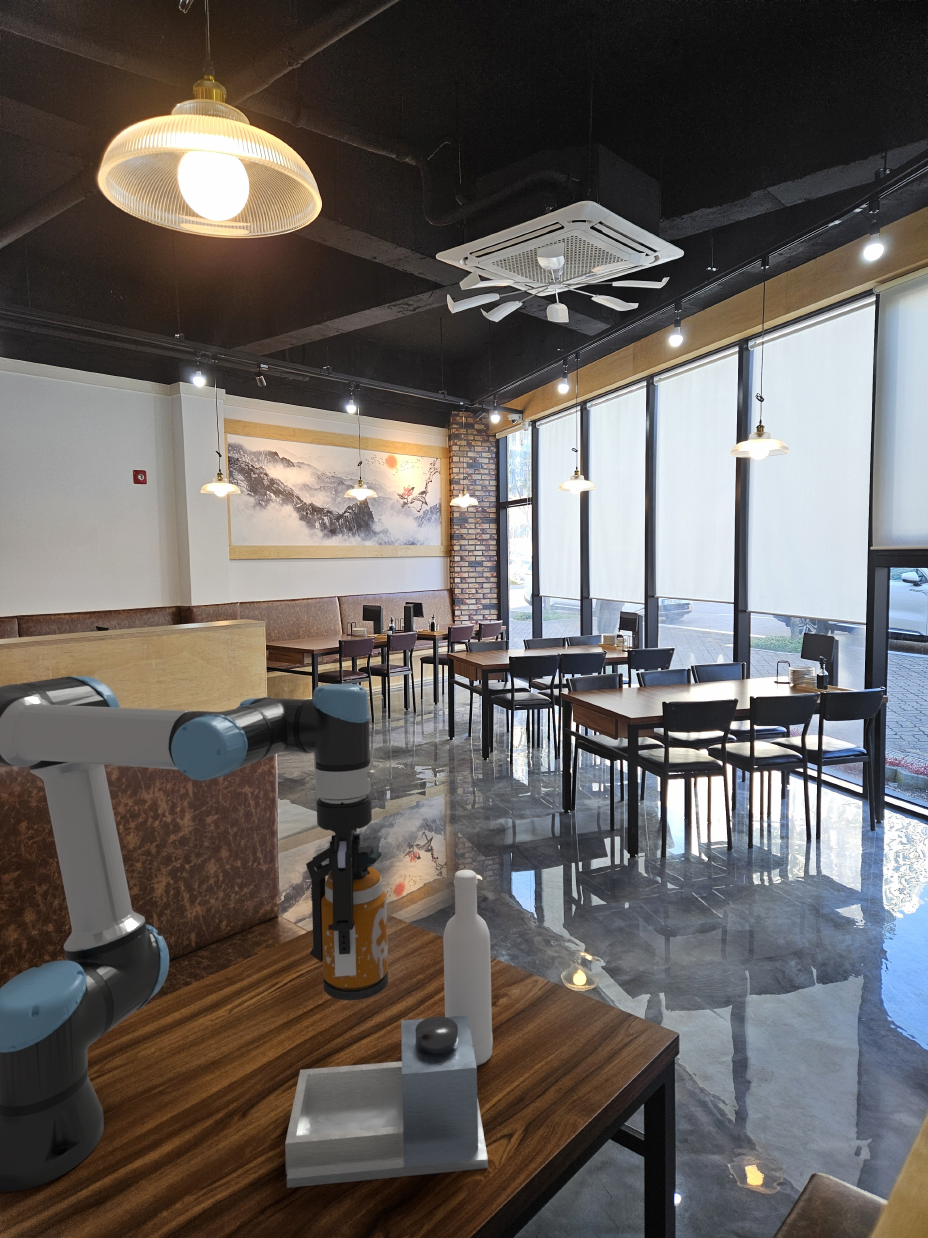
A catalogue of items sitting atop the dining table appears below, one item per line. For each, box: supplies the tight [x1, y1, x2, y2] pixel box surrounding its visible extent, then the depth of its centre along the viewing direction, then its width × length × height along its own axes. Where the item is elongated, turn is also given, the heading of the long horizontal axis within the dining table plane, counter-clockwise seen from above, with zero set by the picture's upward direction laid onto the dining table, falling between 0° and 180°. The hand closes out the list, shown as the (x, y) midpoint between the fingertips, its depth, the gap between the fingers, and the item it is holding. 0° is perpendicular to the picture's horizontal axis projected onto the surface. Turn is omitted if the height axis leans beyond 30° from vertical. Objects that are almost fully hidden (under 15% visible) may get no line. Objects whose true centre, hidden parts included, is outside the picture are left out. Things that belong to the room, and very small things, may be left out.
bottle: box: [442, 869, 494, 1067], centre depth 116 cm, size 8×8×30 cm
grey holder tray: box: [284, 1015, 489, 1189], centre depth 99 cm, size 26×16×14 cm, turn 96°
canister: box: [305, 845, 389, 1001], centre depth 98 cm, size 9×11×20 cm
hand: (348, 956), depth 98 cm, fingers closed on canister, 9 cm apart
